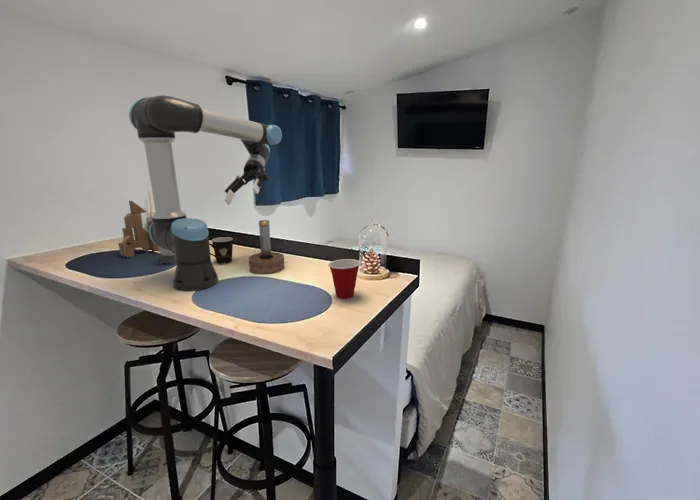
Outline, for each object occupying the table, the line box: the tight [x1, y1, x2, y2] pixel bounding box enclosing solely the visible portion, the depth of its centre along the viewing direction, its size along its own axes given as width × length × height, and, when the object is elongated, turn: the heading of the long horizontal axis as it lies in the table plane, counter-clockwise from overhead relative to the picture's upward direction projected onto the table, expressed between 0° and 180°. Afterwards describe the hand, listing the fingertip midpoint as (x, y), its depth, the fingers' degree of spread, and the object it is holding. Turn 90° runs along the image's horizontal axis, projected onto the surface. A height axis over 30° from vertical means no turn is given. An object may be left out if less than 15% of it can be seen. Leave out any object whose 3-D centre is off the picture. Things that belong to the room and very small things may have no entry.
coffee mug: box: [209, 236, 234, 265], centre depth 159 cm, size 12×9×10 cm
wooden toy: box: [118, 200, 160, 257], centre depth 168 cm, size 16×7×25 cm, turn 143°
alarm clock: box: [158, 246, 176, 265], centre depth 160 cm, size 16×10×18 cm, turn 179°
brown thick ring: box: [248, 251, 285, 275], centre depth 151 cm, size 14×14×5 cm
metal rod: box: [258, 219, 272, 259], centre depth 149 cm, size 4×4×20 cm
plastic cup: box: [327, 258, 361, 300], centre depth 122 cm, size 11×11×12 cm
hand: (240, 196), depth 142 cm, fingers open, 13 cm apart
